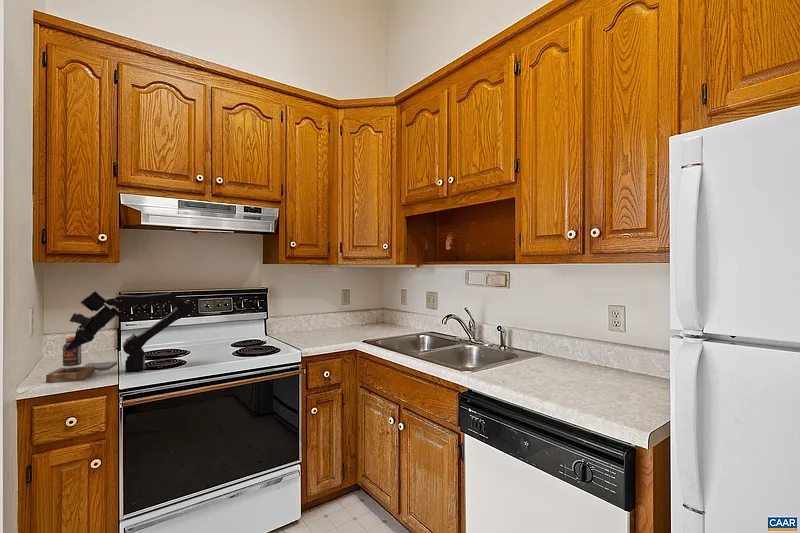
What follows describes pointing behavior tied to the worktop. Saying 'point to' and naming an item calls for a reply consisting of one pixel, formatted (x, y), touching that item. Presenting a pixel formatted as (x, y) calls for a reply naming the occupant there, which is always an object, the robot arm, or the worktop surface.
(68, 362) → the pill bottle
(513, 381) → the worktop surface
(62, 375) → the bottle holder
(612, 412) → the worktop surface
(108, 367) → the rubber mat
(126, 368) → the robot arm
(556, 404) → the worktop surface
